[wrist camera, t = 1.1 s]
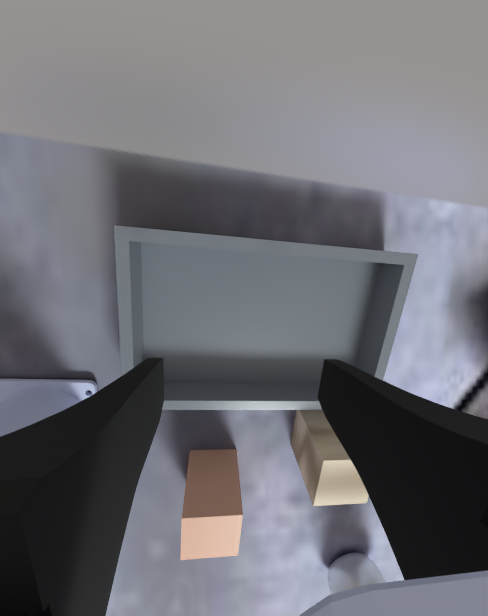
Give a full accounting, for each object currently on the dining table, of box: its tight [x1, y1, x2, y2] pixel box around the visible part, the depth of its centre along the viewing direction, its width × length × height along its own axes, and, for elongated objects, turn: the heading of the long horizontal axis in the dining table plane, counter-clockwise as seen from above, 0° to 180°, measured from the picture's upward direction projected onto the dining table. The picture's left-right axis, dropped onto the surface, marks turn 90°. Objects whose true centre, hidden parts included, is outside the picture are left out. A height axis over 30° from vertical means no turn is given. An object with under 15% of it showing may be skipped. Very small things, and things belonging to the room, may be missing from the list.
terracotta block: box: [181, 449, 243, 560], centre depth 22 cm, size 4×4×6 cm
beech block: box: [291, 410, 369, 506], centre depth 22 cm, size 4×4×6 cm
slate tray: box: [114, 225, 418, 410], centre depth 19 cm, size 13×20×4 cm, turn 84°
